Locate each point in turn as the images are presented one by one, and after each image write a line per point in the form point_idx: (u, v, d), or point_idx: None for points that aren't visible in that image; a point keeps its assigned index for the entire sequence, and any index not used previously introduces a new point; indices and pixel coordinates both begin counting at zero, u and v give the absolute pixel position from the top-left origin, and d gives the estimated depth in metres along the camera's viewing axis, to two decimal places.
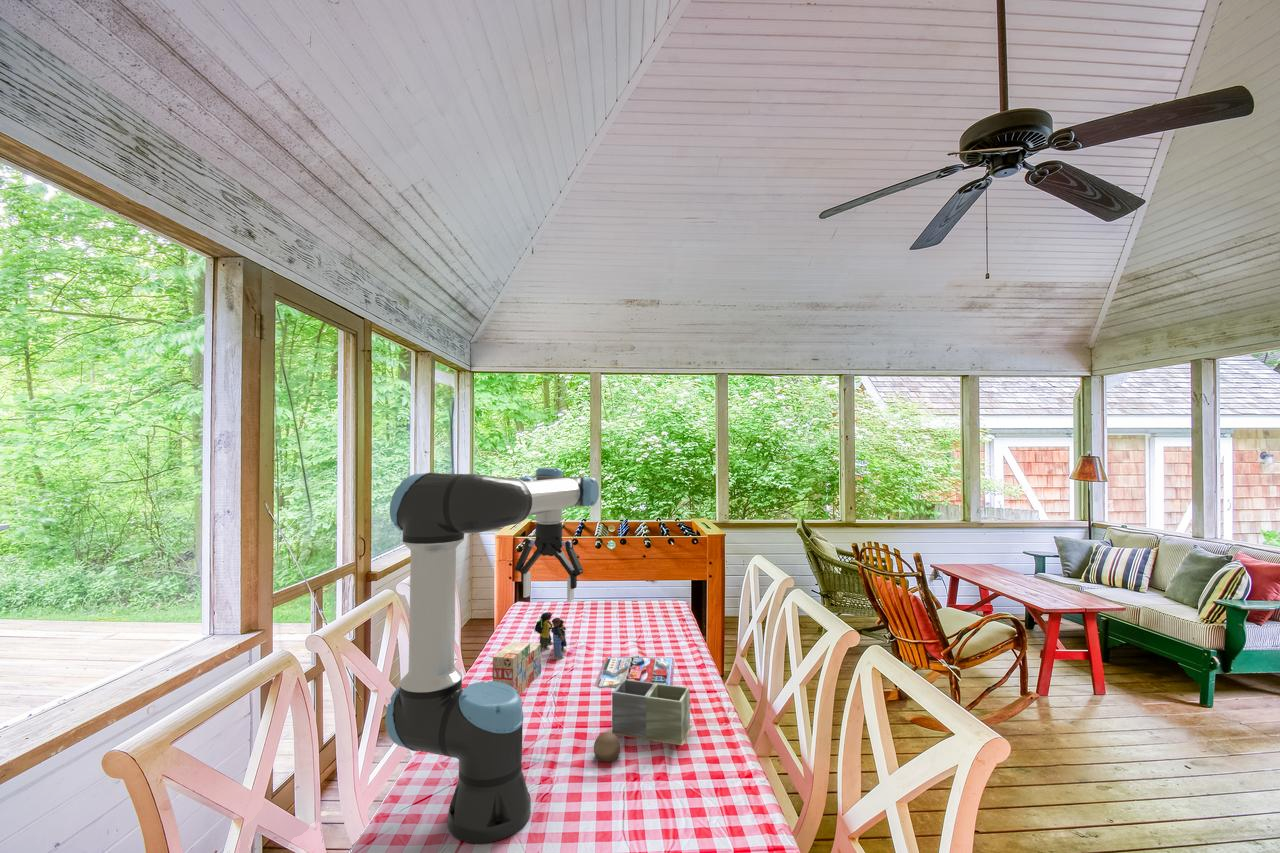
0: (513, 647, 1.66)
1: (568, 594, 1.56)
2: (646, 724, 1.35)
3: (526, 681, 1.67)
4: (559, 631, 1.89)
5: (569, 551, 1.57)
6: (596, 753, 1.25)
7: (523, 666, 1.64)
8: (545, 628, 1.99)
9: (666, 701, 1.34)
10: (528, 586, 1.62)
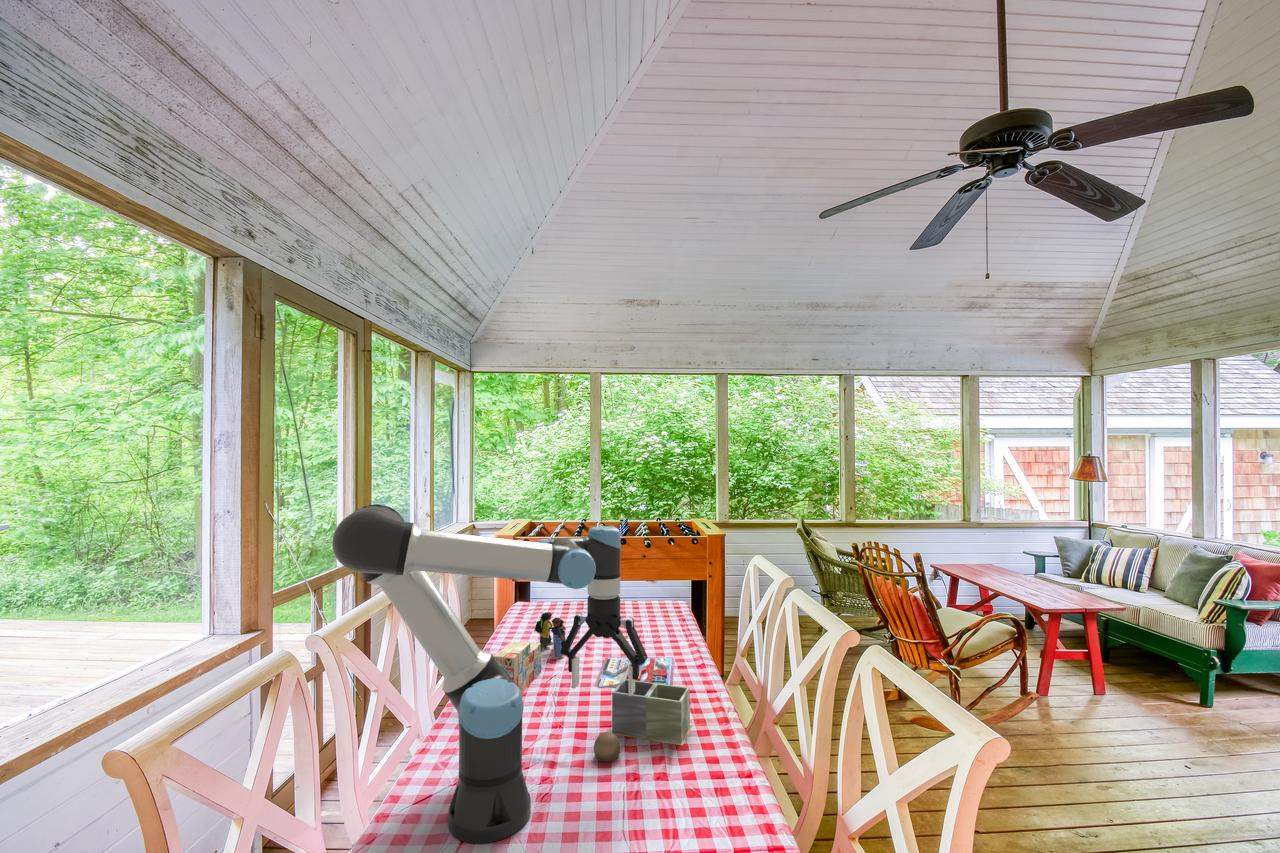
0: (514, 647, 1.66)
1: (630, 687, 1.26)
2: (646, 724, 1.35)
3: (527, 681, 1.67)
4: (559, 631, 1.89)
5: (631, 633, 1.27)
6: (596, 753, 1.25)
7: (524, 666, 1.65)
8: (545, 628, 1.99)
9: (666, 701, 1.34)
10: (577, 673, 1.31)
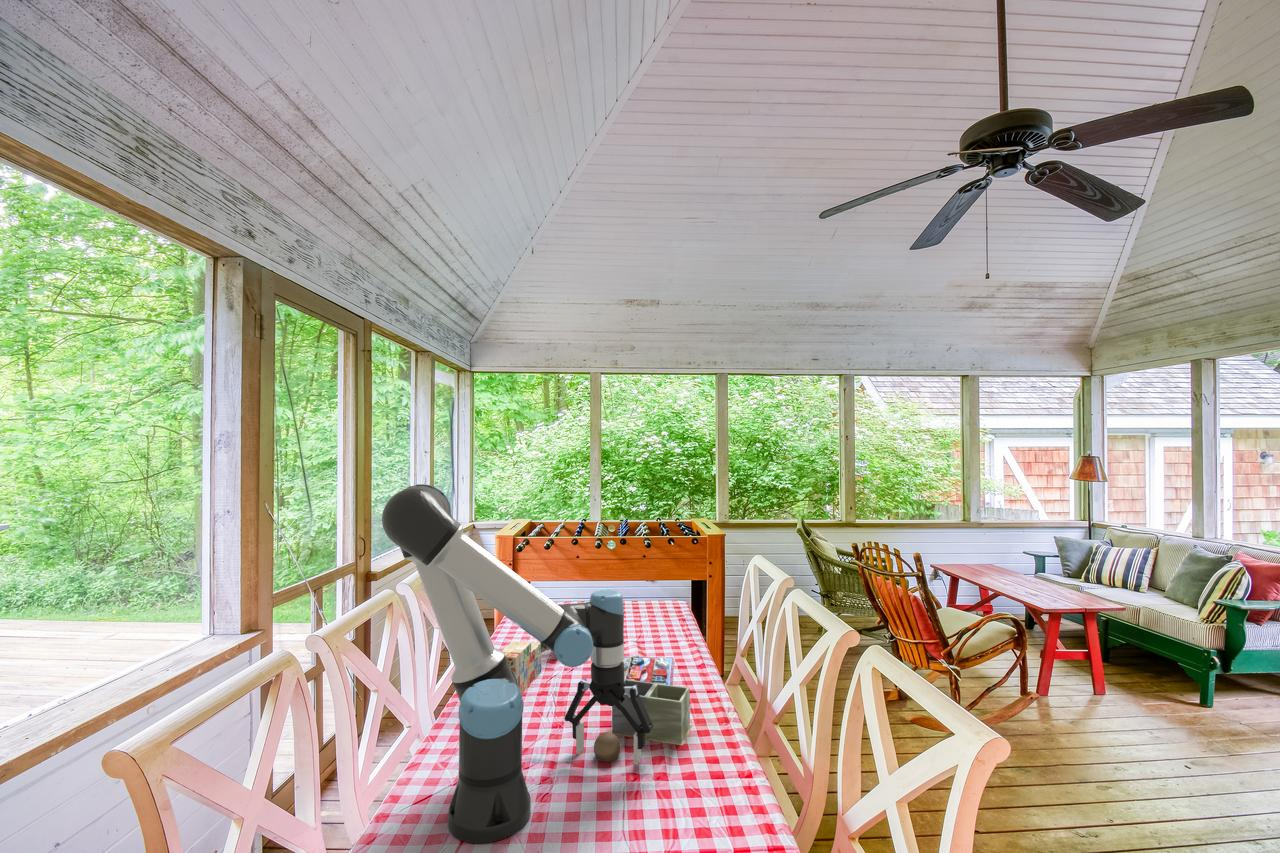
0: (515, 646, 1.66)
1: (635, 757, 1.24)
2: None
3: (527, 680, 1.67)
4: None
5: (635, 702, 1.24)
6: (596, 753, 1.25)
7: (525, 665, 1.65)
8: None
9: (666, 701, 1.34)
10: (582, 740, 1.29)
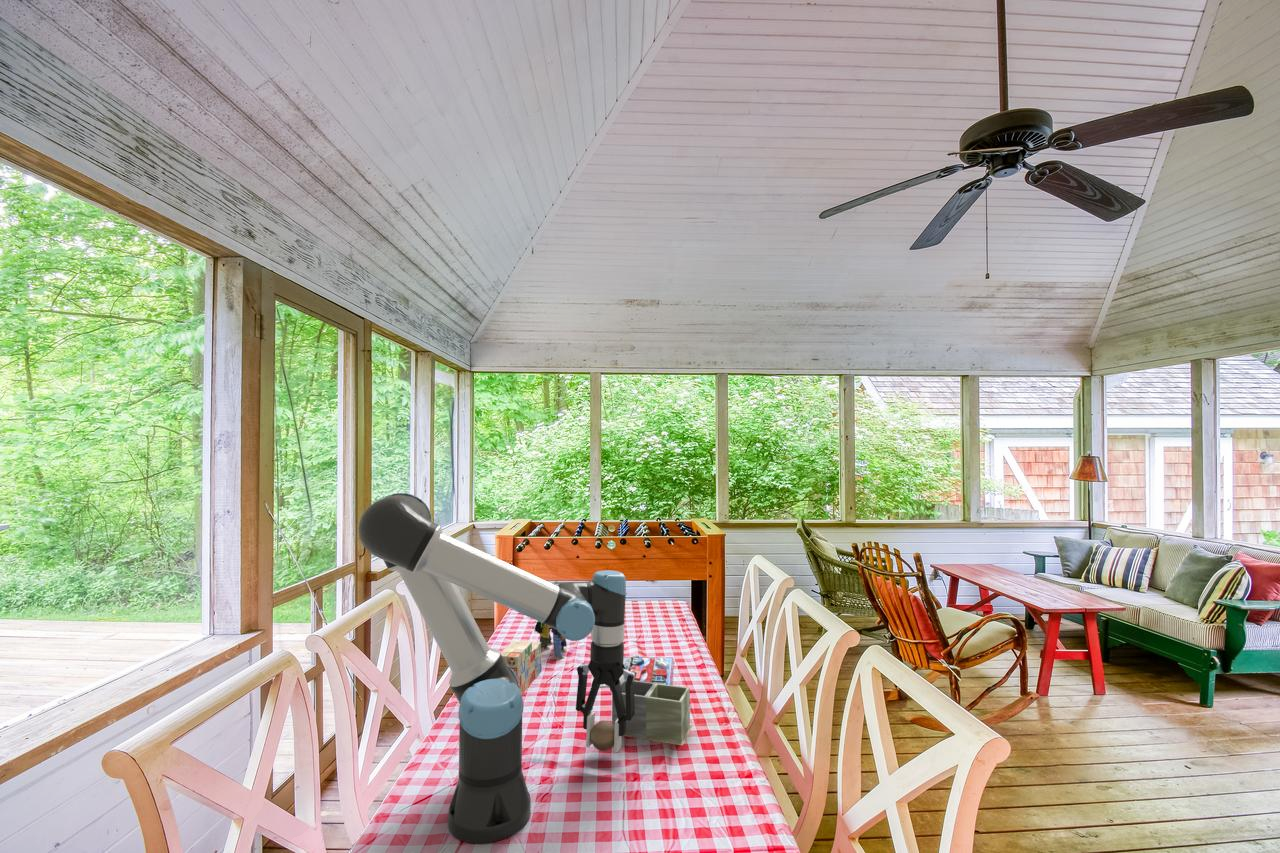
0: (516, 646, 1.66)
1: (615, 743, 1.25)
2: (646, 724, 1.35)
3: (528, 680, 1.68)
4: None
5: (629, 688, 1.25)
6: (593, 740, 1.25)
7: (526, 665, 1.65)
8: (545, 628, 1.99)
9: (666, 701, 1.34)
10: None
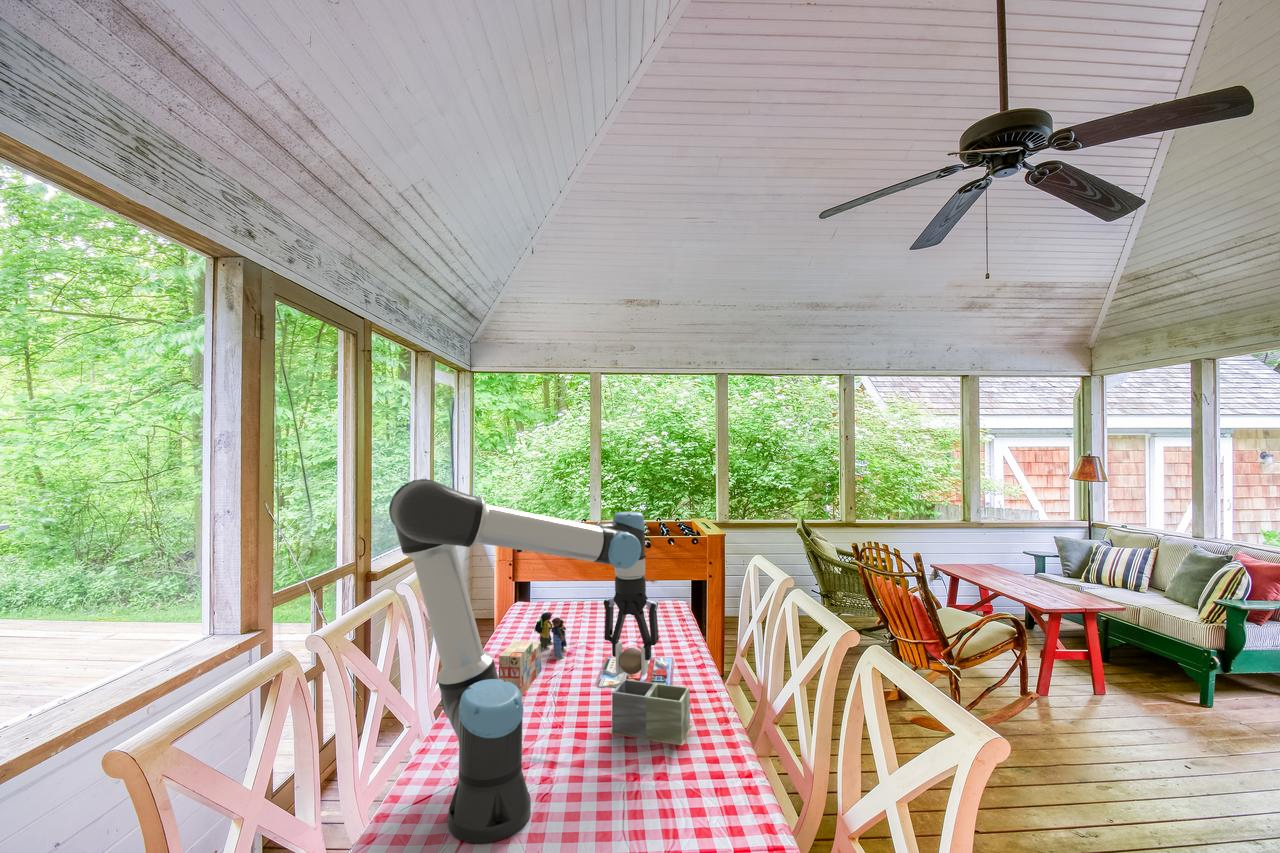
0: (517, 646, 1.67)
1: (642, 667, 1.36)
2: (646, 724, 1.35)
3: (530, 679, 1.68)
4: (559, 631, 1.89)
5: (652, 616, 1.36)
6: (622, 665, 1.36)
7: (528, 664, 1.66)
8: (545, 628, 1.99)
9: (666, 701, 1.34)
10: None
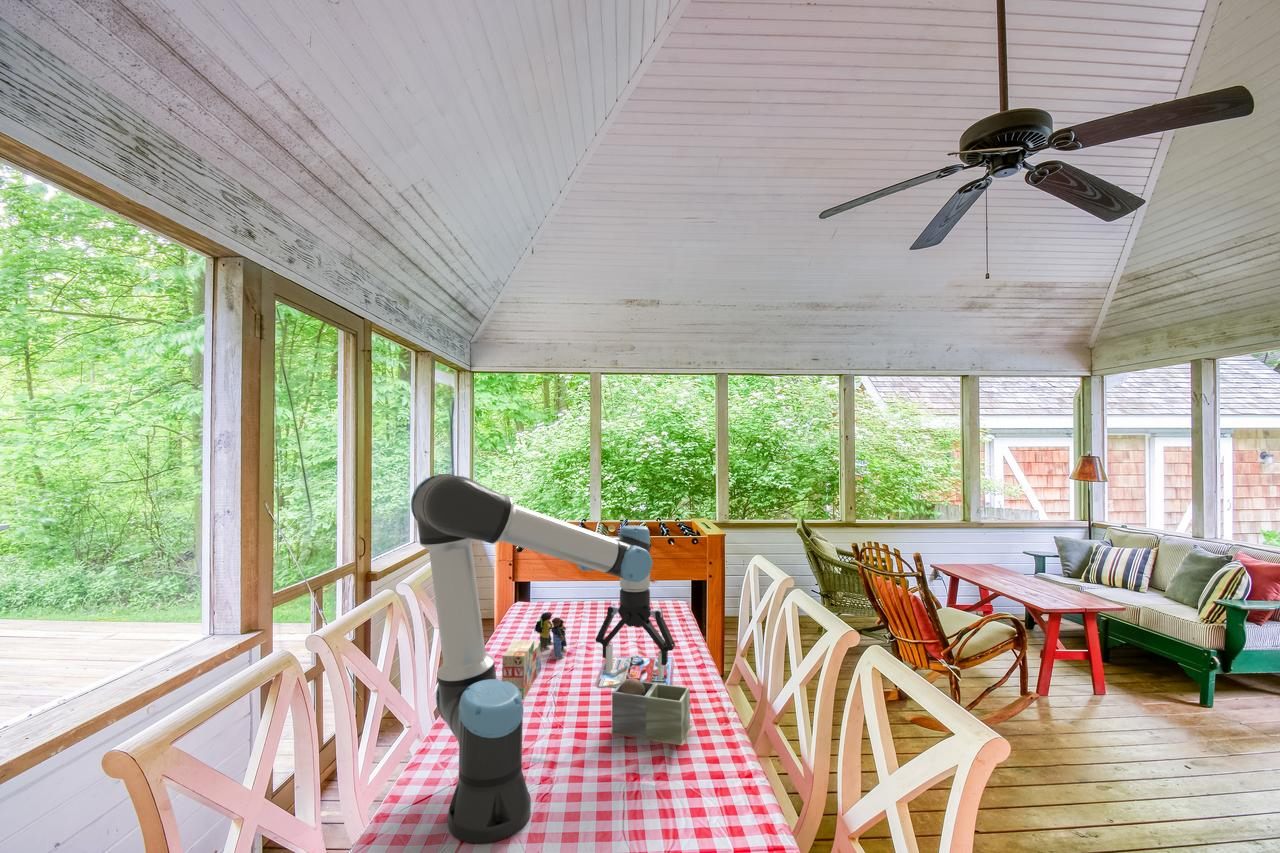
0: (519, 645, 1.67)
1: (659, 671, 1.38)
2: (646, 724, 1.35)
3: (531, 678, 1.68)
4: (559, 631, 1.89)
5: (660, 622, 1.39)
6: None
7: (530, 664, 1.66)
8: (545, 628, 1.99)
9: (666, 701, 1.34)
10: (611, 659, 1.44)
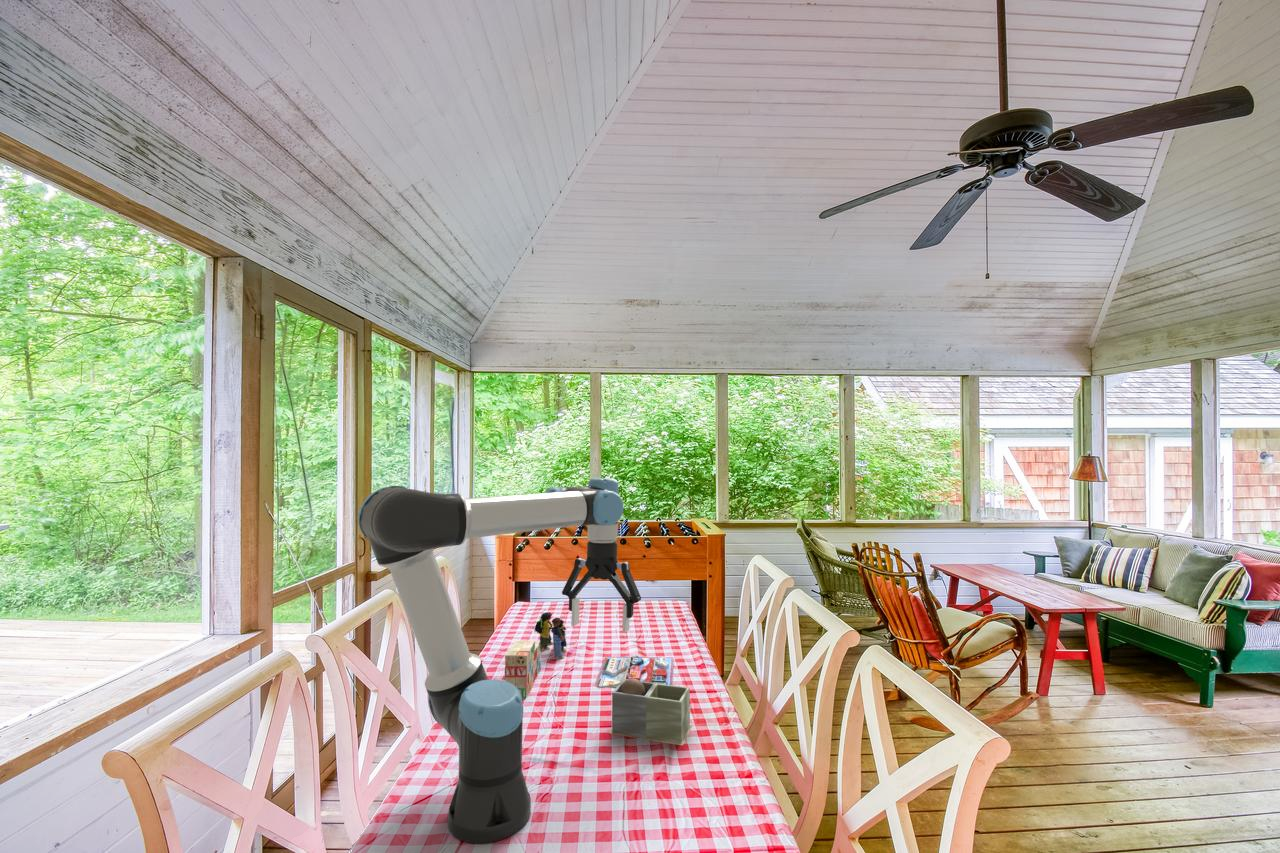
0: (521, 645, 1.67)
1: (624, 624, 1.36)
2: (646, 724, 1.35)
3: (533, 678, 1.69)
4: (559, 631, 1.89)
5: (626, 575, 1.37)
6: None
7: (532, 663, 1.67)
8: (545, 628, 1.99)
9: (666, 701, 1.34)
10: (577, 613, 1.42)
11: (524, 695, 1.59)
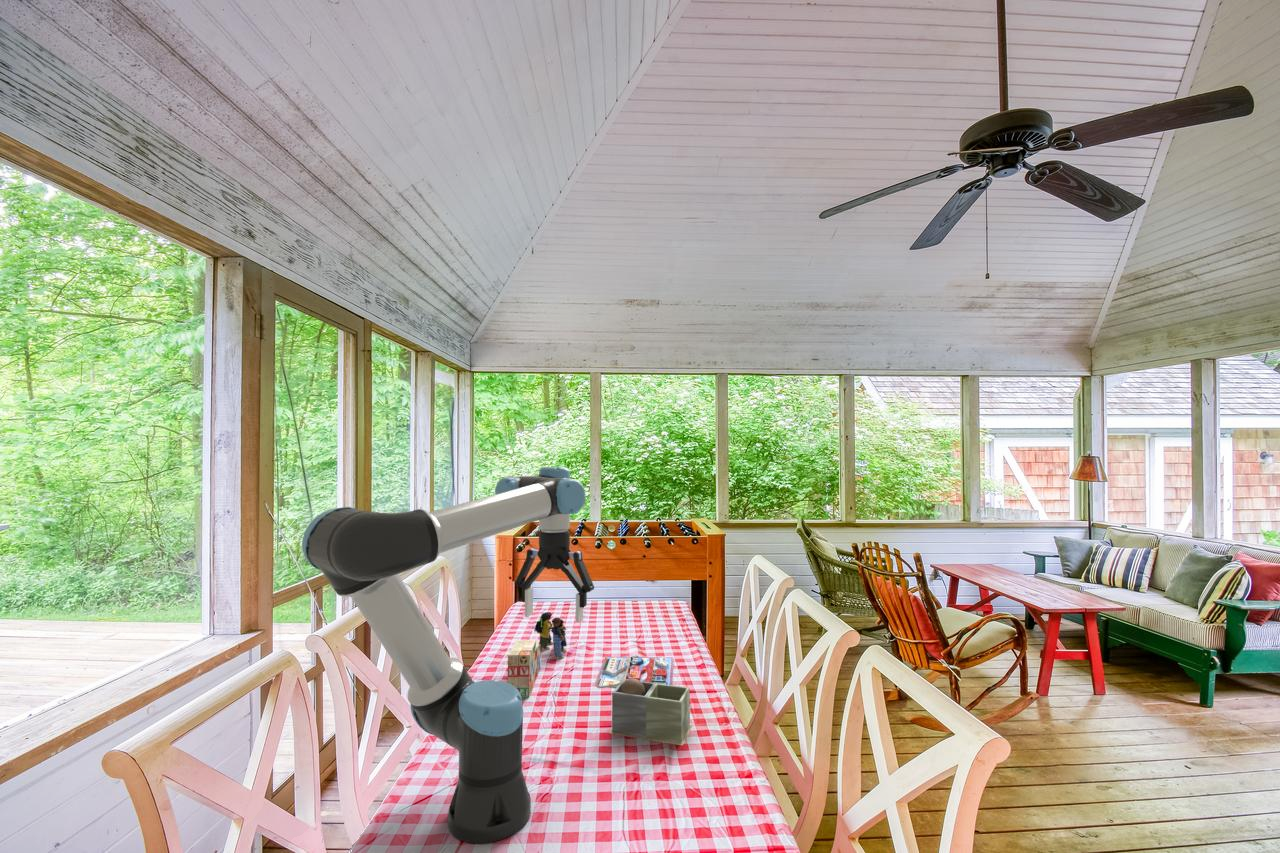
0: (522, 645, 1.68)
1: (577, 614, 1.35)
2: (646, 724, 1.35)
3: (534, 677, 1.69)
4: (559, 631, 1.89)
5: (578, 564, 1.35)
6: None
7: (533, 662, 1.67)
8: (545, 628, 1.99)
9: (666, 701, 1.34)
10: (530, 604, 1.40)
11: (527, 694, 1.60)
